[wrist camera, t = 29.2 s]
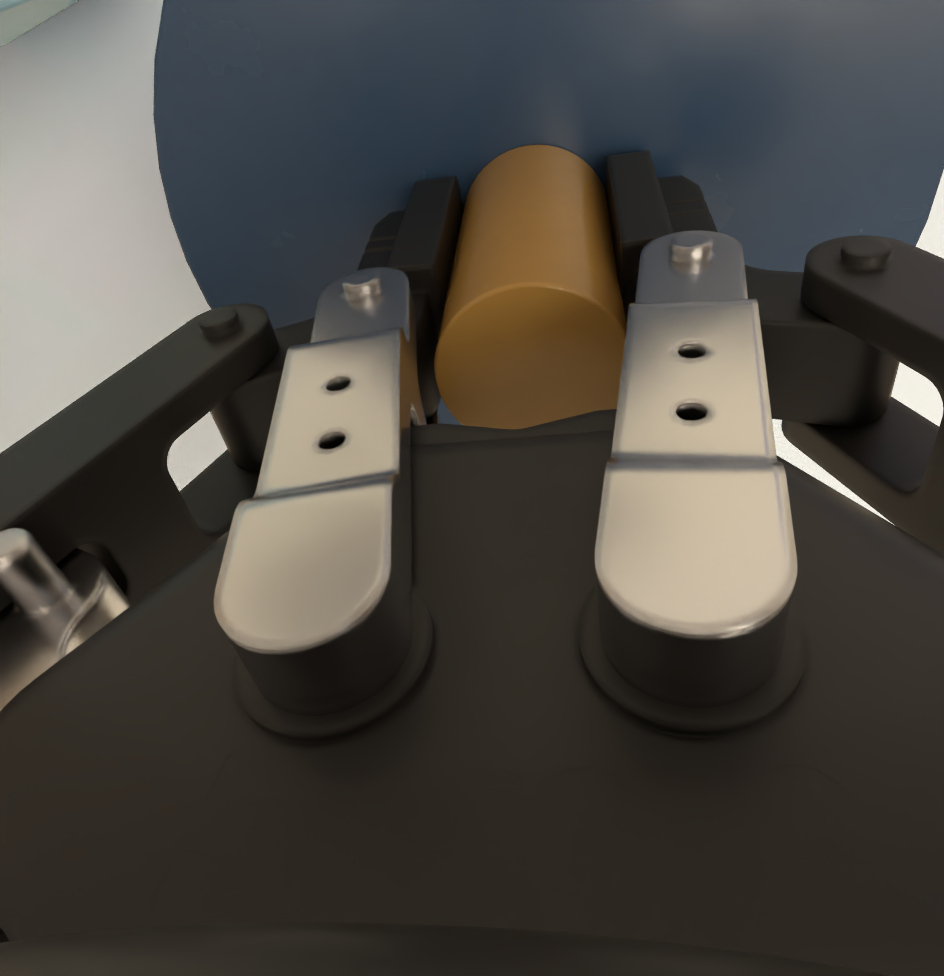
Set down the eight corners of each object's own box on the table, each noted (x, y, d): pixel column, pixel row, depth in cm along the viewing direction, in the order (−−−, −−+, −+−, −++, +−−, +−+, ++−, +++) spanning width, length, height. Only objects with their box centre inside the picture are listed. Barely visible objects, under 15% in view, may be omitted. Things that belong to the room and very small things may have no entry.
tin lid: (304, 481, 20) (233, 684, 15) (26, -210, 11) (-340, -216, 6) (851, 442, 18) (957, 663, 13) (1053, -453, 9) (1590, -721, 4)
